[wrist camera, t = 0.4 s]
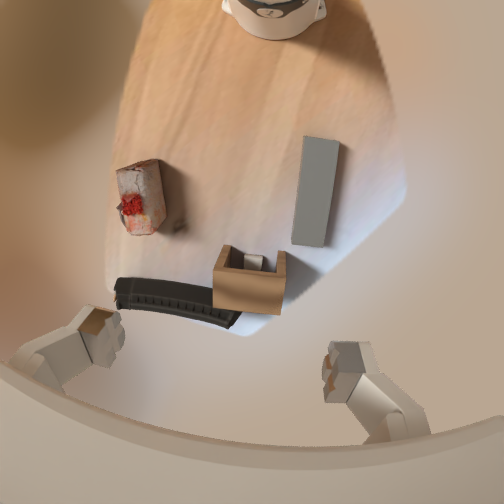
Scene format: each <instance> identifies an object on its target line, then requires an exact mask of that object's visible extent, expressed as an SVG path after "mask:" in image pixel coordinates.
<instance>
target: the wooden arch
mask: <svg viewBox="0 0 504 504" xmlns="http://www.w3.org/2000/svg"><path fill="white" fill-rule="evenodd" d="M262 258H263V256H262V255H252V254H245V256H244V269H235V268H230V259H231V246H230V245H224V246H223V248H222V250H221V252H220V255H219V257H218V259H217V262H216V264H215V267H214V269H213V308H220V309H228V310H236V311H244V312H253V313H262V314H272V315H280V314H281V308H282V302H283V296H284V290H285V283H286V253H285V251H278V255H277V263H276V271H275V273H272V272H262V271H261V268H262Z"/></svg>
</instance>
